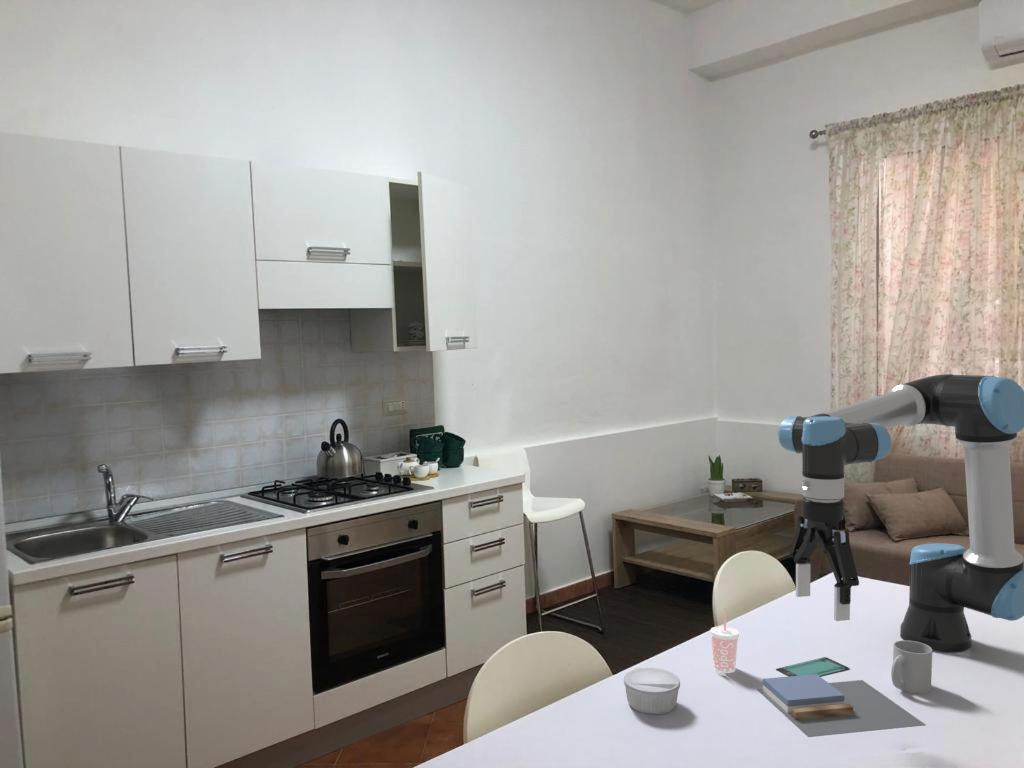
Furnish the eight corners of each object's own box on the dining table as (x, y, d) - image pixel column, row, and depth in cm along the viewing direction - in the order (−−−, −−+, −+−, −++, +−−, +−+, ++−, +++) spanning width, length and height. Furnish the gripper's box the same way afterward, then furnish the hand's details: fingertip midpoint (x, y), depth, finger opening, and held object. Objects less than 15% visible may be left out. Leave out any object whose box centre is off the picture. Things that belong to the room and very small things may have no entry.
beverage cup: (706, 673, 178) (707, 610, 177) (713, 663, 184) (714, 602, 183) (735, 679, 175) (736, 615, 174) (741, 668, 181) (742, 606, 180)
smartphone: (774, 668, 179) (825, 655, 185) (774, 673, 179) (825, 661, 185) (799, 681, 172) (851, 667, 179) (799, 687, 172) (851, 673, 179)
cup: (938, 691, 169) (939, 649, 168) (909, 703, 164) (910, 659, 163) (905, 678, 175) (907, 637, 175) (876, 689, 170) (877, 647, 169)
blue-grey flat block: (844, 707, 161) (816, 685, 171) (844, 695, 161) (816, 674, 170) (787, 712, 159) (762, 690, 168) (787, 700, 158) (762, 678, 168)
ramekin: (645, 722, 156) (645, 695, 156) (612, 699, 166) (612, 674, 166) (691, 709, 162) (692, 683, 161) (656, 688, 172) (657, 663, 171)
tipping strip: (848, 711, 159) (848, 703, 159) (853, 714, 158) (853, 707, 158) (791, 716, 157) (791, 708, 157) (795, 720, 156) (795, 712, 156)
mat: (862, 682, 173) (862, 679, 173) (926, 727, 154) (926, 724, 154) (756, 692, 169) (756, 689, 169) (808, 739, 149) (808, 736, 149)
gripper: (772, 486, 168) (771, 588, 169) (842, 514, 143) (840, 632, 145) (806, 484, 169) (805, 585, 170) (881, 511, 144) (879, 629, 146)
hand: (821, 607), depth 158 cm, fingers open, 13 cm apart
